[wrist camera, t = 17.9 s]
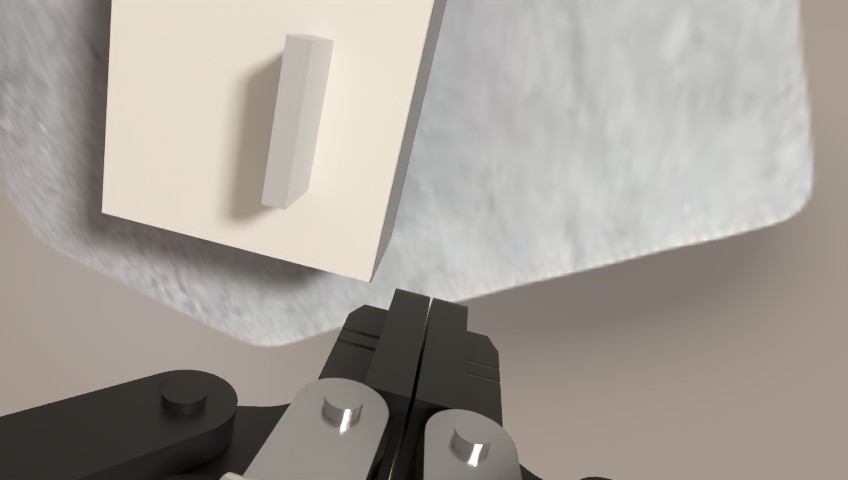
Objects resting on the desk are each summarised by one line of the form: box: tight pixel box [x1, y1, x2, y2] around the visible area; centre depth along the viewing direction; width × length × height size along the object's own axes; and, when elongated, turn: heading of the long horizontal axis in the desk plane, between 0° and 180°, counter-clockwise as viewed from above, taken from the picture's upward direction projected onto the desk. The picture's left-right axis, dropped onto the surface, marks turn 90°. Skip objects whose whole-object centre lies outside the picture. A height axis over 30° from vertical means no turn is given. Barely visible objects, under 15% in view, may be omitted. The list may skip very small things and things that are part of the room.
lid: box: [102, 0, 434, 282], centre depth 29 cm, size 16×17×5 cm
